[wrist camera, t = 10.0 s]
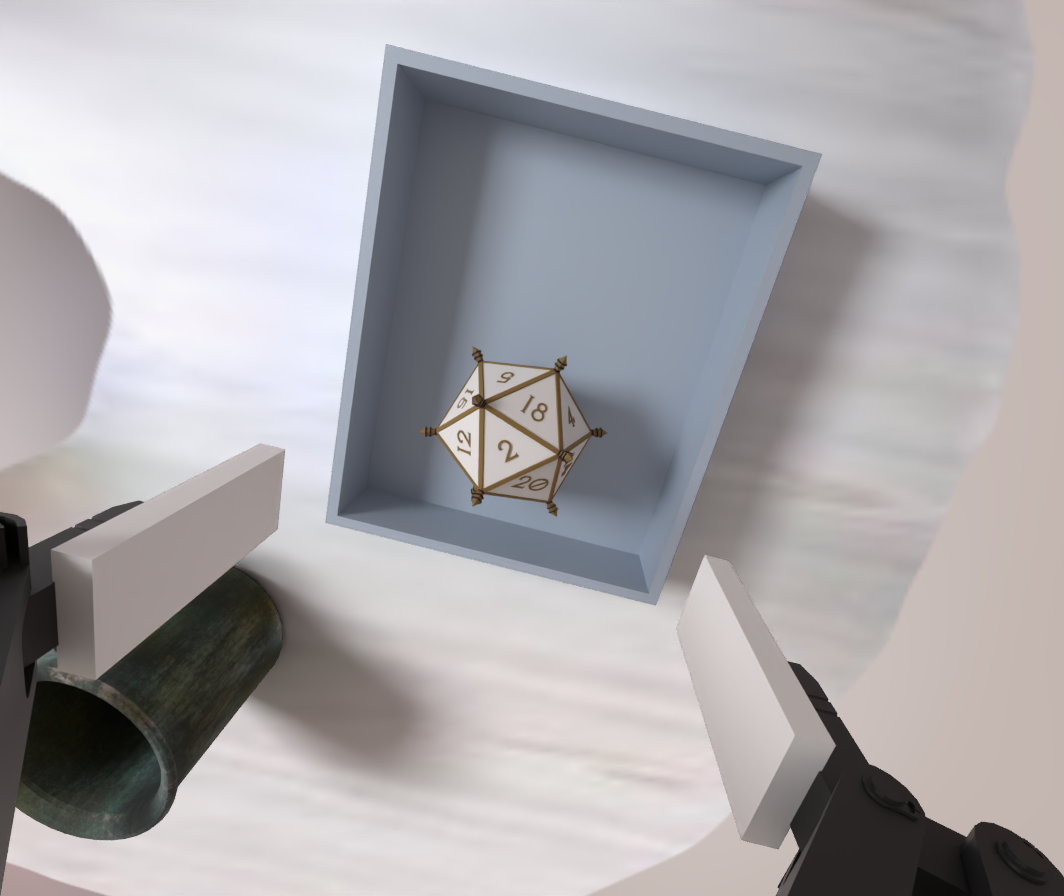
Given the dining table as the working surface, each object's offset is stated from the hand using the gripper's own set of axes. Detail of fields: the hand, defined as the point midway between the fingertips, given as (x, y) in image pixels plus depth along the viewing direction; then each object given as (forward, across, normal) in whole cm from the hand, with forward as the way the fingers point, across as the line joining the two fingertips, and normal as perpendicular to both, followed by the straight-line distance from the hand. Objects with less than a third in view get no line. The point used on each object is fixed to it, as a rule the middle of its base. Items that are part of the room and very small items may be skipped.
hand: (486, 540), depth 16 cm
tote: (+16, 0, +4) cm, 17 cm away
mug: (+17, -19, -19) cm, 32 cm away
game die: (+16, 0, 0) cm, 16 cm away
